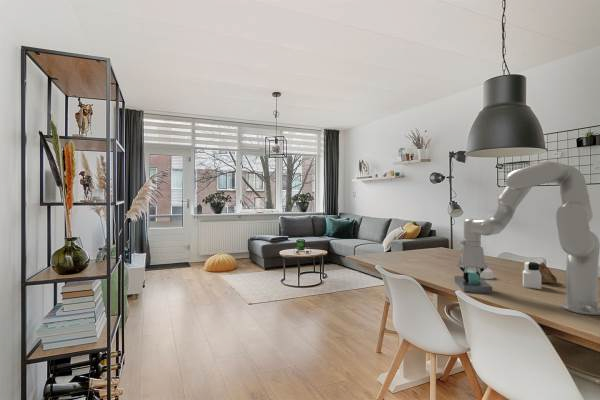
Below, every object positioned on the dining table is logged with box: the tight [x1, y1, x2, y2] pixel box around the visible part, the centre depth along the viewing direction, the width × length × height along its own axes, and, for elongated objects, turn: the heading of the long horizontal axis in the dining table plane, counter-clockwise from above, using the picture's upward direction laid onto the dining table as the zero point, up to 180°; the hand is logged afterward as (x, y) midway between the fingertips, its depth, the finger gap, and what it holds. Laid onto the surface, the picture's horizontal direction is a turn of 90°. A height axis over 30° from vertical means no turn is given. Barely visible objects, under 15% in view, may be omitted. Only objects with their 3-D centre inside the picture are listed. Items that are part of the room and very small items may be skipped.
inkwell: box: [458, 259, 495, 280], centre depth 186 cm, size 9×18×10 cm, turn 72°
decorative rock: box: [538, 261, 558, 284], centre depth 174 cm, size 12×6×11 cm, turn 84°
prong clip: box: [467, 269, 479, 284], centre depth 164 cm, size 4×11×6 cm, turn 166°
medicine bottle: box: [522, 261, 542, 290], centre depth 165 cm, size 7×7×12 cm
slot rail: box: [454, 275, 493, 294], centre depth 164 cm, size 12×20×3 cm, turn 167°
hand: (471, 280), depth 164 cm, fingers open, 4 cm apart
